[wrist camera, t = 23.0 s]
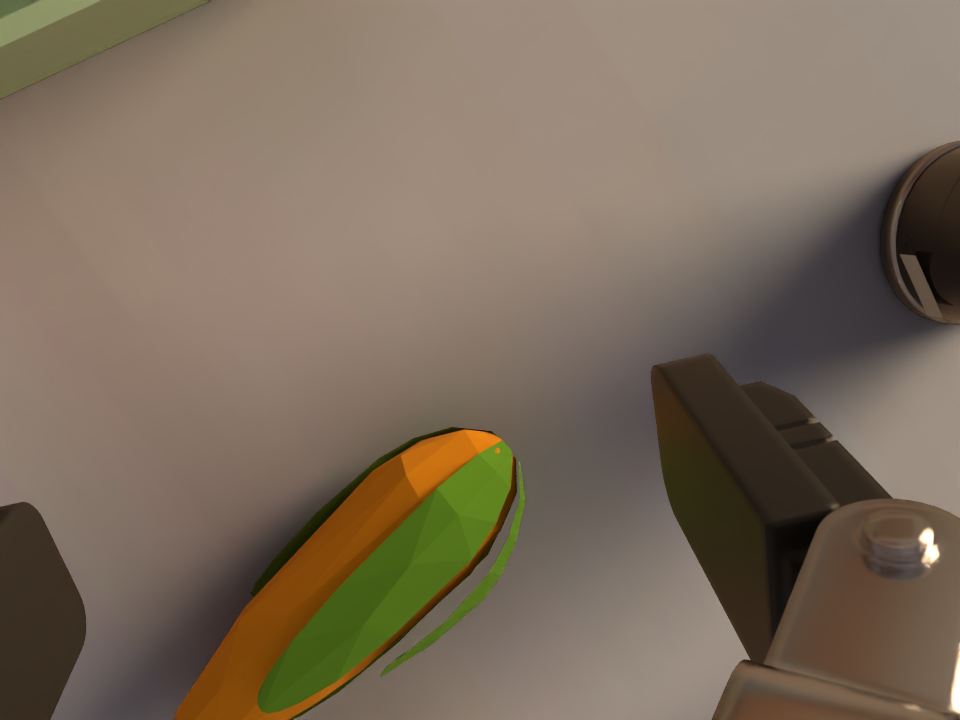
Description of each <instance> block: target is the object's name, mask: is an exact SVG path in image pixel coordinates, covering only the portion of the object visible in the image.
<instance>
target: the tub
mask: <svg viewBox="0 0 960 720" xmlns="http://www.w3.org/2000/svg"><path fill="white" fill-rule="evenodd" d="M209 1H211V0H0V99H2V98H4V97H6V96H8V95H10V94H13V93H15V92H17V91H19V90H21V89H23V88H25V87H27V86H30V85H32V84H34V83H36V82H38V81H40V80H42V79H45V78H47V77H49V76H51V75H53V74H55V73H57V72H59V71H62V70H64V69H66V68H68V67H70V66H72V65H74V64H77V63H79V62H81V61H83V60H85V59H87V58H89V57H91V56H94V55H96V54H98V53H100V52H102V51H104V50H106V49H109V48H111V47H113V46H115V45H117V44H119V43H121V42H123V41H126V40H128V39H130V38H132V37H134V36H136V35H138V34H140V33H143V32H145V31H147V30H149V29H151V28H153V27H155V26H158V25H160V24H162V23H164V22H166V21H168V20H170V19H172V18H175V17H177V16H179V15H181V14H183V13H185V12H187V11H190V10H192V9H194V8H196V7H198V6H200V5H202V4H204V3H207V2H209Z"/></svg>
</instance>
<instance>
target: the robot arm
mask: <svg viewBox="0 0 960 720" xmlns="http://www.w3.org/2000/svg"><path fill="white" fill-rule="evenodd" d="M881 250H882V259H883V264H884V268H885V271H886V275H887V277H888V280H889V282H890V284H891V286H892V288H893V290H894V291H895V293H896V294H897V296H898V297H899V298H900V299H901V300H902V302H903V303H904V304H905V305H906V306H908V307H909V308H910V309H911V310H913V311H914V312H915V313H917V314H919V315H921V316H923V317H925V318H927V319H930V320H934V321H938V322H944V323H949V324H955V325H960V141H956V142H952V143H948V144H946V145H943V146H940V147H938V148H936V149H934V150H932V151H931V152H929V153H927V154H926V155H925V156H923V157H922V158H921V159H919V160H918V161H917V162H916V163H915V164H914V165H913V166H912V167H911V168H910V169H909V170H908V171H907V172H906V174H905V175H904V176H903V178H902V179H901V181H900V182H899V184H898V185H897V187H896V189H895V191H894V192H893V194H892V196H891V199H890V201H889V204H888V206H887V209H886V213H885V217H884V221H883V227H882V236H881ZM651 384H652V393H653V401H654V409H655V417H656V425H657V433H658V441H659V450H660V458H661V466H662V473H663V478H664V483H665V487H666V491H667V495H668V498H669V501H670V505H671V507H672V510H673V513H674V515H675V517H676V519H677V521H678V523H679V525H680V527H681V529H682V531H683V532H684V534H685V536H686V538H687V540H688V542H689V544H690V546H691V548H692V550H693V551H694V553H695V555H696V557H697V559H698V561H699V563H700V565H701V567H702V568H703V570H704V572H705V574H706V576H707V578H708V580H709V582H710V584H711V586H712V587H713V589H714V591H715V593H716V595H717V597H718V599H719V601H720V603H721V604H722V606H723V608H724V610H725V612H726V614H727V616H728V618H729V620H730V622H731V623H732V625H733V627H734V629H735V631H736V633H737V635H738V637H739V639H740V641H741V642H742V644H743V646H744V648H745V650H746V652H747V654H748V656H749V658H750V659H751V660H742V661H741V662H739V664H738V665H737V666H736V667H735V669H734V671H733V672H732V674H731V676H730V678H729V680H728V682H727V685H726V687H725V689H724V692H723V694H722V696H721V699H720V701H719V703H718V706H717V708H716V710H715V713H714V715H713V717H712V720H960V518H958V517H957V516H955V515H953V514H951V513H949V512H947V511H945V510H942V509H940V508H938V507H935V506H931V505H928V504H925V503H921V502H915V501H910V500H902V499H893V498H892V497H891V496H890V495H889V494H888V493H887V492H886V491H885V490H884V489H883V488H882V487H881V485H880V484H879V483H878V482H877V481H876V480H875V479H874V478H873V477H872V476H871V475H870V474H869V473H868V472H867V471H866V470H865V469H864V468H863V467H862V466H861V465H860V464H859V463H858V461H857V460H856V459H855V458H854V457H853V456H852V455H851V454H850V453H849V452H848V451H847V450H846V449H845V448H844V447H843V446H842V445H841V444H840V443H839V442H838V441H837V440H836V441H834V439H833V435H832V434H831V433H830V432H829V431H828V430H827V429H826V428H825V427H824V426H823V425H822V424H821V423H820V422H816V418H815V417H814V416H813V414H812V413H811V412H810V411H809V410H808V409H807V408H806V407H805V406H804V405H803V404H802V403H801V402H800V401H799V400H798V399H797V398H796V397H795V396H794V395H791V394H789V393H787V392H785V391H782V390H780V389H778V388H775V387H773V386H771V385H769V384H766V383H764V382H762V381H759V382H754V383H750V384H745V385H741V386H739V385H738V384H737V383H736V381H735V380H734V379H733V378H732V377H731V376H730V374H729V373H728V372H727V371H726V370H725V368H724V367H723V366H722V365H721V364H720V363H719V361H718V360H717V359H716V358H715V357H714V356H713V355H712V354H710V353H708V354H704V355H699V356H694V357H690V358H685V359H681V360H676V361H672V362H667V363H662V364H658V365H654V366H653V367H652V370H651ZM85 635H86V615H85V609H84V604H83V601H82V598H81V596H80V594H79V592H78V589H77V587H76V585H75V583H74V581H73V579H72V577H71V575H70V573H69V571H68V569H67V567H66V565H65V563H64V561H63V559H62V557H61V555H60V553H59V551H58V549H57V547H56V544H55V542H54V540H53V538H52V536H51V534H50V532H49V530H48V528H47V526H46V524H45V522H44V520H43V518H42V516H41V515H40V513H39V512H38V510H37V509H36V508H35V507H34V506H32V505H31V504H29V503H26V502H20V503H15V504H11V505H6V506H2V507H0V720H50V719H51V716H52V714H53V712H54V710H55V708H56V705H57V703H58V701H59V699H60V696H61V694H62V692H63V690H64V688H65V685H66V683H67V681H68V679H69V676H70V674H71V672H72V670H73V667H74V665H75V663H76V661H77V659H78V656H79V654H80V652H81V650H82V647H83V644H84V641H85Z"/></svg>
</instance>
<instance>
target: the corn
mask: <svg viewBox="0 0 960 720" xmlns="http://www.w3.org/2000/svg"><path fill="white" fill-rule="evenodd" d="M512 453H513V452H512V451H511V449H510V448H509V447H508V445H507V444H506V443H504V442H503V441H502V439H500V438H499V437H498V436H496V435H495V434H494V433H493V432H492V431H484V430H475V429H465V428H456V427H451V428H448V429H444V430H441V431H437V432H434V433H430V434H427V435H424V436H420V437H417V438H413V439H411V440H410V441H408V442H406V443H405V444H403V445H401V446H400V447H398V448H396V449H394V450H393V451H391V452H389V453H388V454H386V455H384V456H383V457H381V458H379V459H378V460H377V461H375V462H374V463H373V464H372V465H371V466H370V467H369V468H367V469H366V470H365V471H364V472H363V473H362V474H361V475H360V476H358V477H357V478H356V479H355V480H354V481H353V482H352V483H350V484H349V485H348V486H347V487H346V488H345V489H344V490H342V491H341V492H340V493H339V494H338V495H337V496H336V497H334V498H333V499H332V500H331V501H330V502H329V503H328V504H327V505H325V506H324V507H323V508H322V509H321V510H320V511H319V512H317V513H316V514H315V515H314V516H313V517H312V519H311V520H310V521H309V522H308V523H307V524H306V525H305V526H304V527H303V528H302V529H301V531H300V532H299V533H298V534H297V535H296V536H295V537H294V538H293V539H292V540H291V541H290V542H289V544H288V545H287V546H286V547H285V548H284V549H283V550H282V551H281V552H280V553H279V554H278V555H277V557H276V558H275V559H274V560H273V561H272V563H271V564H270V565H269V566H268V568H267V569H266V570H265V572H264V573H263V574H262V576H261V577H260V578H259V579H258V581H257V582H256V583H255V586H254V588H253V590H252V592H251V594H252V595H253V596H254V598H253V599H252V600H251V601H250V602H249V603H248V604H247V605H246V606H245V608H244V609H243V611H242V612H241V614H240V615H239V617H238V618H237V620H236V621H235V623H234V624H233V626H232V627H231V629H230V631H229V632H228V634H227V635H226V637H225V638H224V640H223V641H222V643H221V644H220V646H219V647H218V649H217V650H216V652H215V653H214V655H213V656H212V658H211V659H210V661H209V662H208V664H207V665H206V667H205V668H204V670H203V672H202V673H201V675H200V676H199V678H198V679H197V681H196V682H195V684H194V685H193V687H192V688H191V690H190V691H189V693H188V694H187V696H186V697H185V699H184V700H183V702H182V703H181V705H180V706H179V708H178V709H177V711H176V712H175V718H174V720H292V719H294V718H297V717H299V716H301V715H302V714H304V713H306V712H307V711H309V710H310V709H312V708H314V707H315V706H317V705H318V704H320V703H322V702H323V701H325V700H326V699H328V698H330V697H331V696H333V695H334V694H336V693H338V692H339V691H340V690H341V689H343V688H344V687H345V686H346V685H347V684H349V683H350V682H351V681H352V680H353V679H355V678H356V677H357V676H358V675H359V674H361V673H362V672H363V671H364V670H366V669H367V668H368V667H369V666H370V665H372V664H373V663H374V662H375V661H376V660H378V659H379V658H380V657H381V656H382V655H384V654H385V653H386V652H387V651H388V650H390V649H391V648H392V647H393V646H394V645H396V644H397V643H398V642H399V641H400V640H401V639H402V638H403V637H404V636H405V635H406V634H407V633H408V632H409V631H410V630H411V629H412V628H413V627H414V626H415V625H416V624H417V623H418V622H419V621H420V620H421V619H422V618H423V617H424V616H425V615H426V614H428V613H429V612H430V611H431V610H432V609H433V608H434V607H435V606H436V605H437V604H438V603H439V602H440V601H441V600H442V599H443V598H444V597H445V596H447V595H448V594H449V593H450V592H451V591H452V590H453V589H454V588H456V587H457V586H458V585H459V584H460V583H461V582H462V581H463V580H465V579H466V578H467V577H468V576H469V575H470V574H471V573H472V571H473V570H474V568H475V567H476V566H477V565H478V564H479V563H480V562H481V561H482V560H483V559H484V558H485V557H486V556H487V555H488V553H489V551H490V549H491V547H492V545H493V543H494V541H495V539H496V537H497V535H498V533H499V532H500V531H501V528H502V526H503V524H504V521H505V519H506V517H507V514H508V512H509V510H510V508H511V505H512V503H513V500H514V498H515V496H516V493H517V482H516V477H517V475H516V458H515V457H514V456H513V454H512ZM519 480H520V501H519V504H518V507H517V511H516V514H515V517H514V521H513V524H512V527H511V531H510V534H509V537H508V539H507V541H506V543H505V545H504V547H503V549H502V551H501V552H500V554H499V556H498V558H497V560H496V562H495V564H494V566H493V568H492V569H491V571H490V572H489V574H488V575H487V576H486V577H485V578H484V579H483V580H482V581H481V583H480V584H479V585H478V586H477V587H476V588H475V589H474V590H473V591H472V593H471V594H470V595H469V596H468V597H467V598H466V599H465V600H464V602H463V603H462V604H461V605H460V606H459V607H458V608H457V609H456V611H455V612H454V613H453V614H452V615H451V616H450V617H449V618H448V620H447V621H446V622H444V623H443V624H442V625H441V626H439V627H438V628H437V629H436V630H434V631H433V632H432V633H430V634H429V635H428V636H427V637H425V638H424V639H423V640H422V641H420V642H419V643H418V644H416V645H415V646H414V647H413V648H411V649H410V650H409V651H407V652H406V653H404V654H403V655H401V656H400V657H398V658H397V659H396V660H395V661H394V662H393V663H391V664H390V665H388V666H387V667H386V668H385V670H384V671H383V672H382V673H381V675H380V676H381V677H382V676H383V675H385V674H386V673H388V672H390V671H391V670H393V669H394V668H396V667H397V666H399V665H400V664H402V663H403V662H405V661H407V660H408V659H410V658H411V657H413V656H414V655H416V654H417V653H419V652H420V651H422V650H424V649H425V648H427V647H428V646H430V645H431V644H433V643H434V642H435V641H436V640H438V639H439V638H440V637H441V636H442V635H443V634H445V633H446V632H447V631H448V630H449V629H450V628H451V627H453V626H454V625H455V624H456V623H457V622H458V621H460V620H461V619H462V618H463V617H464V616H465V615H466V614H468V613H469V612H470V611H471V610H472V609H473V608H475V607H476V606H477V605H478V604H479V603H480V602H482V601H483V600H484V598H485V597H486V596H487V594H488V593H489V591H490V590H491V589H492V587H493V586H494V585H495V583H496V582H497V580H498V579H499V578H500V576H501V574H502V572H503V570H504V568H505V566H506V563H507V561H508V559H509V557H510V555H511V553H512V550H513V548H514V546H515V544H516V540H517V536H518V532H519V527H520V523H521V518H522V514H523V510H524V505H525V495H524V488H523V481H522V474H521V467H520V461H519Z"/></svg>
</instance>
